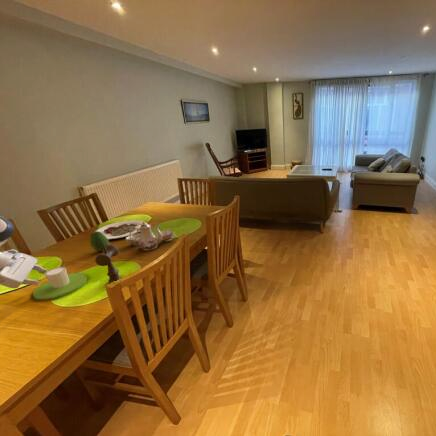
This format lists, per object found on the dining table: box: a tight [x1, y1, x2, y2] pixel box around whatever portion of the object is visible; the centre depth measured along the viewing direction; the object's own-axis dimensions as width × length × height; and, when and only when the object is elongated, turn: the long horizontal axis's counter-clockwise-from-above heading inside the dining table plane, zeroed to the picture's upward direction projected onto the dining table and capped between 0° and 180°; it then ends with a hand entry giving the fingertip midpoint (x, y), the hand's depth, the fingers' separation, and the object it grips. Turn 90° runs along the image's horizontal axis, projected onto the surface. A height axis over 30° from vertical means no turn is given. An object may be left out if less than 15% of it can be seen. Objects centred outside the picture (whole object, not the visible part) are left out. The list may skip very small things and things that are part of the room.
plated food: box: [94, 219, 147, 240], centre depth 161 cm, size 30×30×3 cm
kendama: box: [95, 243, 123, 284], centre depth 107 cm, size 6×10×20 cm, turn 17°
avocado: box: [90, 230, 110, 252], centre depth 135 cm, size 8×8×12 cm
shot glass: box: [44, 266, 69, 288], centre depth 106 cm, size 7×7×7 cm
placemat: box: [32, 272, 88, 301], centre depth 107 cm, size 18×18×1 cm
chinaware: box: [123, 221, 177, 252], centre depth 141 cm, size 28×17×17 cm, turn 113°
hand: (42, 277), depth 103 cm, fingers open, 8 cm apart
